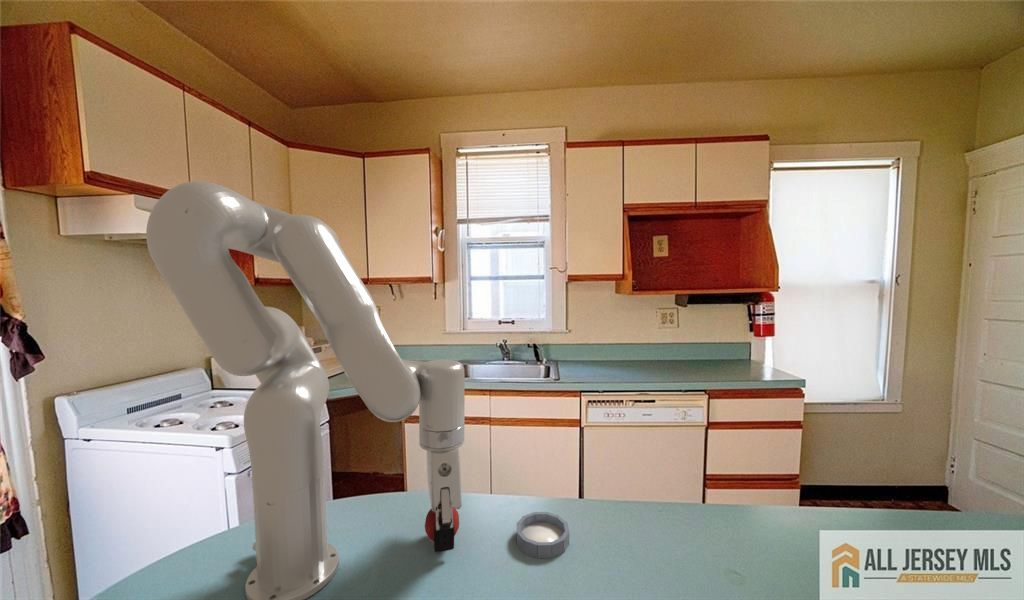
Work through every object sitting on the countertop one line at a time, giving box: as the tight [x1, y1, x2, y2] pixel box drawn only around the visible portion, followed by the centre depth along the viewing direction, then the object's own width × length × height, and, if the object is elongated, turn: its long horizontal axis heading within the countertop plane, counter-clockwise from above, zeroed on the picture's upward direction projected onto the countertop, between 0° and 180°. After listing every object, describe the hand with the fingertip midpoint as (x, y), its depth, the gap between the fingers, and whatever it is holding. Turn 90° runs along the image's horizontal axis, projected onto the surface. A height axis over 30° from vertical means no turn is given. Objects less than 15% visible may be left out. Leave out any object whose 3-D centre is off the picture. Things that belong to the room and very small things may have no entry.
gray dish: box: [516, 511, 570, 559], centre depth 69 cm, size 9×9×2 cm
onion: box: [424, 504, 460, 543], centre depth 67 cm, size 6×6×8 cm
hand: (442, 535), depth 68 cm, fingers closed on onion, 5 cm apart
